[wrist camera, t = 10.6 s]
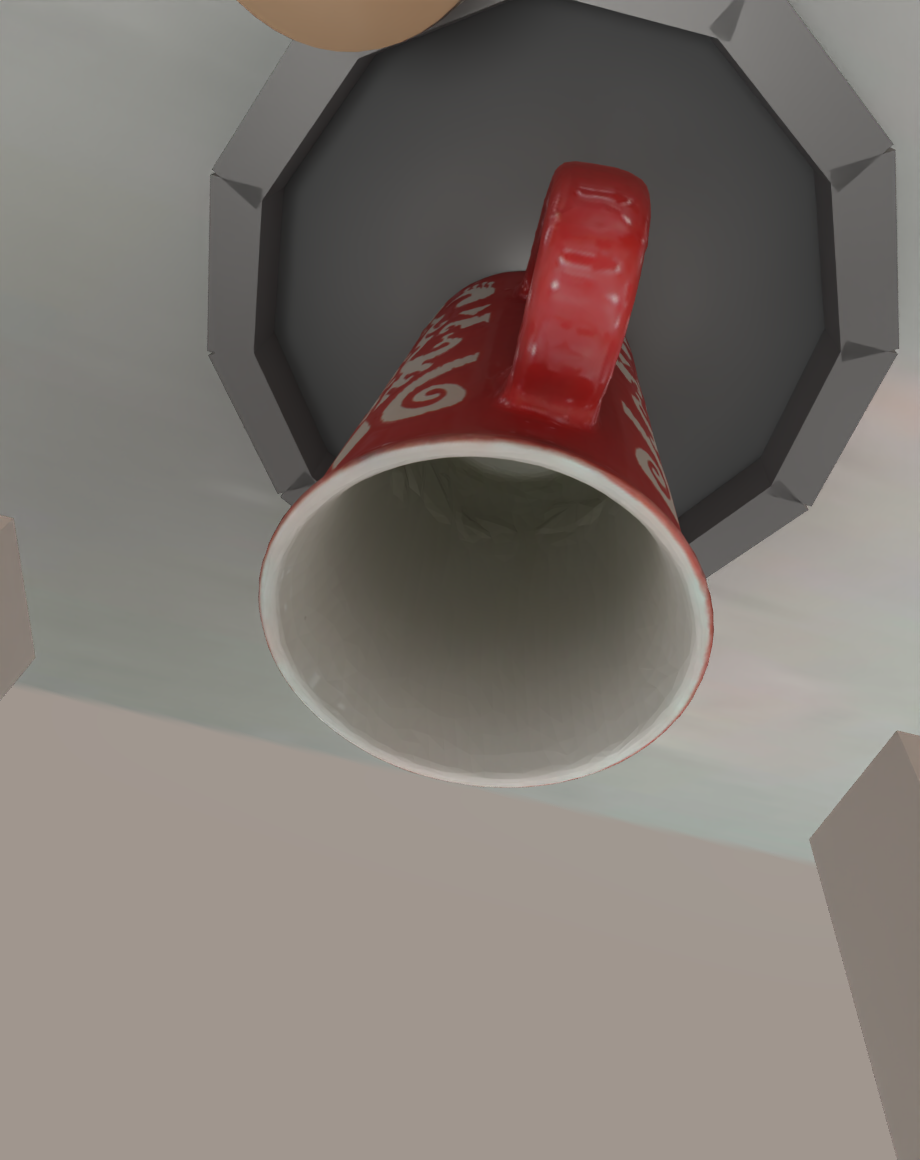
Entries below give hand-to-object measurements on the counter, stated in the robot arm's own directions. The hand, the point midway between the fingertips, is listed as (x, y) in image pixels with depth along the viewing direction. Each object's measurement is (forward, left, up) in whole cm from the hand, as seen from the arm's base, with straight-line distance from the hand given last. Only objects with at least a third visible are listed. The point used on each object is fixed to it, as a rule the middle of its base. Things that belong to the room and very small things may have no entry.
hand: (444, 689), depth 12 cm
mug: (+1, 0, -17) cm, 17 cm away
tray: (0, 0, -18) cm, 18 cm away
